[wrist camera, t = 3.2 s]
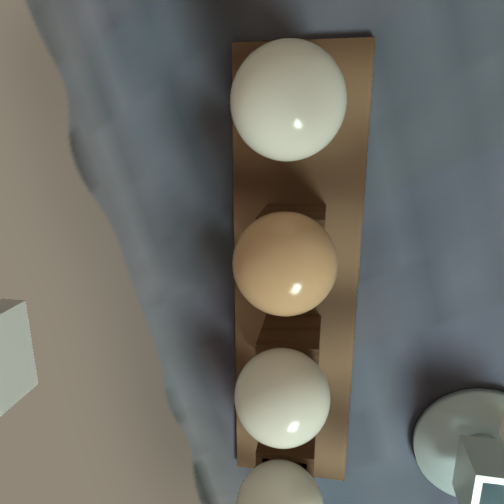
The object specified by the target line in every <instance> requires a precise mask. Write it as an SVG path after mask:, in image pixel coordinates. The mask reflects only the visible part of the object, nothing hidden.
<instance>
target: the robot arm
mask: <svg viewBox="0 0 504 504" xmlns="http://www.w3.org/2000/svg"><path fill="white" fill-rule="evenodd" d="M37 384H38V379H37V373H36V367H35V360H34V353H33V347H32V341H31V335H30V328H29V322H28V315H27V309H26V302H25V300H11V299H1V300H0V416H2V415H3V414H4V413H5V412H6V411H7V410H9V409H10V408H11V407H12V406H13V405H14V404H16V403H17V402H18V401H19V400H20V399H21V398H22V397H24V396H25V395H26V394H27V393H28V392H29V391H31V390H32V389H33V388H34V387H35V386H36V385H37ZM499 435H500V437H501V439H502V440H503V442H504V407H503V413H502V418H501V424H500V429H499Z"/></svg>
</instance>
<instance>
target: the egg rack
mask: <svg viewBox="0 0 504 504" xmlns="http://www.w3.org/2000/svg"><path fill="white" fill-rule="evenodd" d="M305 40H307V41H310V42H312V43H314V44H316V45H318V46H320V47H321V48H323V49H324V50H325V51H326V52H327V53H328V54H330V55H331V56H332V58H333V59H334V60H335V62H336V63H337V65H338V66H339V68H340V70H341V72H342V75H343V77H344V80H345V84H346V90H347V107H346V112H345V116H344V119H343V122H342V125H341V127H340V129H339V130H338V132H337V134H336V135H335V137H334V138H333V139H332V140H331V142H330V143H329V144H328V145H327V146H326V147H324V148H323V149H322V150H321V151H319V152H318V153H316V154H314V155H312V156H310V157H308V158H305V159H302V160H297V161H277V160H272V159H269V158H266V157H264V156H262V155H260V154H258V153H257V152H255V151H254V150H252V149H251V148H250V147H249V146H248V145H247V144H246V143H245V142H244V140H243V139H242V138H241V136H240V135H239V133H238V131H237V129H236V127H235V125H234V122H233V190H234V249H235V246H236V243H237V241H238V239H239V237H240V236H241V234H242V233H243V231H244V230H245V229H246V228H247V227H248V226H249V225H250V224H251V223H252V222H254V221H255V220H257V219H258V218H260V217H262V216H264V215H266V214H270V213H273V212H279V211H289V212H296V213H300V214H303V215H306V216H308V217H310V218H312V219H313V220H315V221H316V222H318V223H319V224H320V225H321V226H322V227H323V228H324V229H325V230H326V231H327V232H328V234H329V235H330V237H331V239H332V241H333V243H334V245H335V249H336V252H337V258H338V270H337V276H336V280H335V283H334V285H333V287H332V289H331V291H330V292H329V294H328V295H327V297H326V298H325V299H324V300H323V301H322V302H321V303H320V304H319V305H317V306H316V307H315V308H313V309H311V310H309V311H308V312H305V313H303V314H300V315H295V316H275V315H271V314H268V313H265V312H263V311H261V310H259V309H257V308H256V307H254V306H253V305H252V304H251V303H249V302H248V301H247V300H246V298H245V297H244V296H243V295H242V293H241V292H240V290H239V288H238V286H237V284H236V281H235V341H236V382H237V379H238V377H239V375H240V373H241V371H242V369H243V368H244V366H245V365H246V364H247V363H248V362H249V361H250V360H251V359H252V358H253V357H254V356H256V355H257V354H259V353H261V352H263V351H266V350H268V349H273V348H290V349H294V350H297V351H300V352H302V353H304V354H306V355H307V356H308V357H310V358H311V359H312V360H314V361H315V362H316V363H317V365H318V366H319V367H320V369H321V370H322V372H323V373H324V375H325V377H326V379H327V382H328V385H329V390H330V409H329V413H328V417H327V419H326V421H325V424H324V425H323V427H322V428H321V430H320V431H319V432H318V434H317V435H316V436H315V437H313V438H312V439H311V440H310V441H308V442H307V443H305V444H303V445H300V446H298V447H294V448H289V449H278V448H273V447H269V446H266V445H264V444H262V443H260V442H258V441H257V440H255V439H254V438H253V437H252V436H251V435H250V434H249V433H248V432H247V431H246V430H245V428H244V427H243V426H242V424H241V422H240V420H239V418H238V415H237V412H236V416H237V466H240V467H247V468H255V467H256V466H258V465H259V464H261V463H263V462H266V461H269V460H274V459H283V460H288V461H292V462H294V463H296V464H298V465H300V466H302V467H303V468H304V469H305V470H307V471H308V472H309V473H310V475H311V476H312V477H313V478H314V477H320V478H328V479H335V480H342V481H344V480H345V466H346V451H347V437H348V423H349V408H350V394H351V380H352V365H353V351H354V337H355V322H356V308H357V294H358V279H359V265H360V251H361V236H362V222H363V208H364V193H365V179H366V165H367V150H368V136H369V122H370V107H371V93H372V79H373V64H374V50H375V37H359V38H332V39H305ZM268 42H271V41H252V42H232V84H233V80H234V78H235V75H236V73H237V71H238V69H239V68H240V66H241V64H242V63H243V62H244V60H245V59H246V58H247V57H248V56H249V55H250V54H251V53H252V52H253V51H255V50H256V49H257V48H259V47H260V46H262V45H264V44H266V43H268Z"/></svg>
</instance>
